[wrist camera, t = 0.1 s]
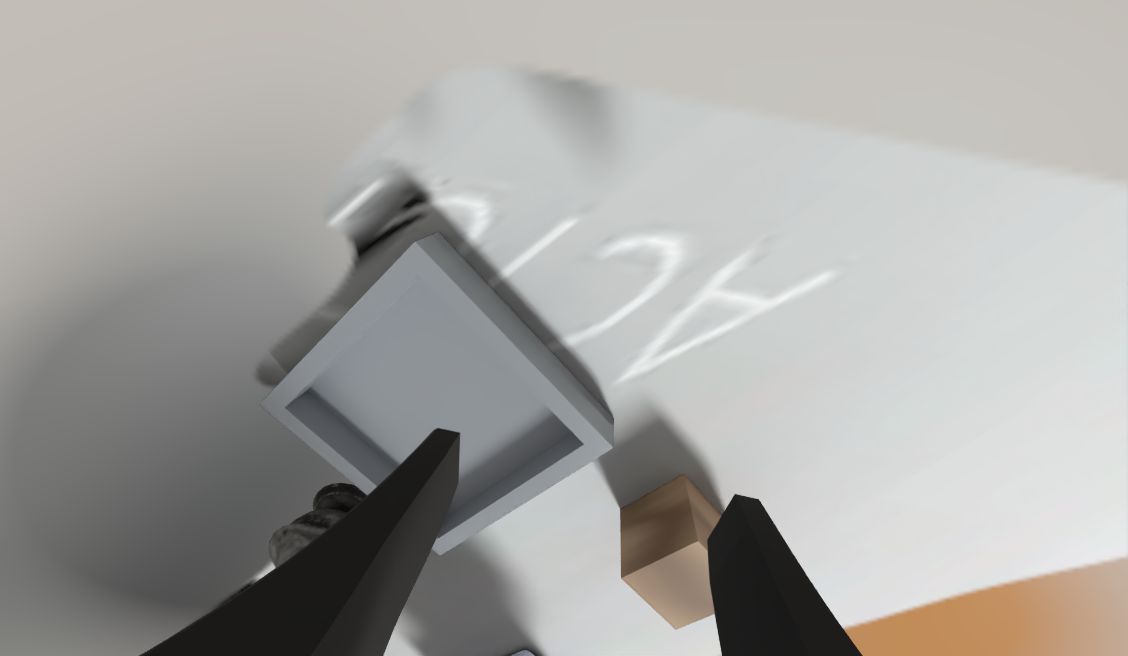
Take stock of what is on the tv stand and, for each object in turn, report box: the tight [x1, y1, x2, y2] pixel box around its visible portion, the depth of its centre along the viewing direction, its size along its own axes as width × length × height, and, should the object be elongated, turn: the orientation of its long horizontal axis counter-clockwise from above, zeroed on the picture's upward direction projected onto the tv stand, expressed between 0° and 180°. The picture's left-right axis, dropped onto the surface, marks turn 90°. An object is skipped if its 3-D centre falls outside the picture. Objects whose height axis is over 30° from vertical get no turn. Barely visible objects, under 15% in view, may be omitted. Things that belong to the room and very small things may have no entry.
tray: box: [259, 232, 614, 556], centre depth 22 cm, size 13×13×2 cm
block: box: [620, 474, 722, 630], centre depth 22 cm, size 4×4×4 cm
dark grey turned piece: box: [269, 483, 367, 568], centre depth 22 cm, size 6×6×12 cm
